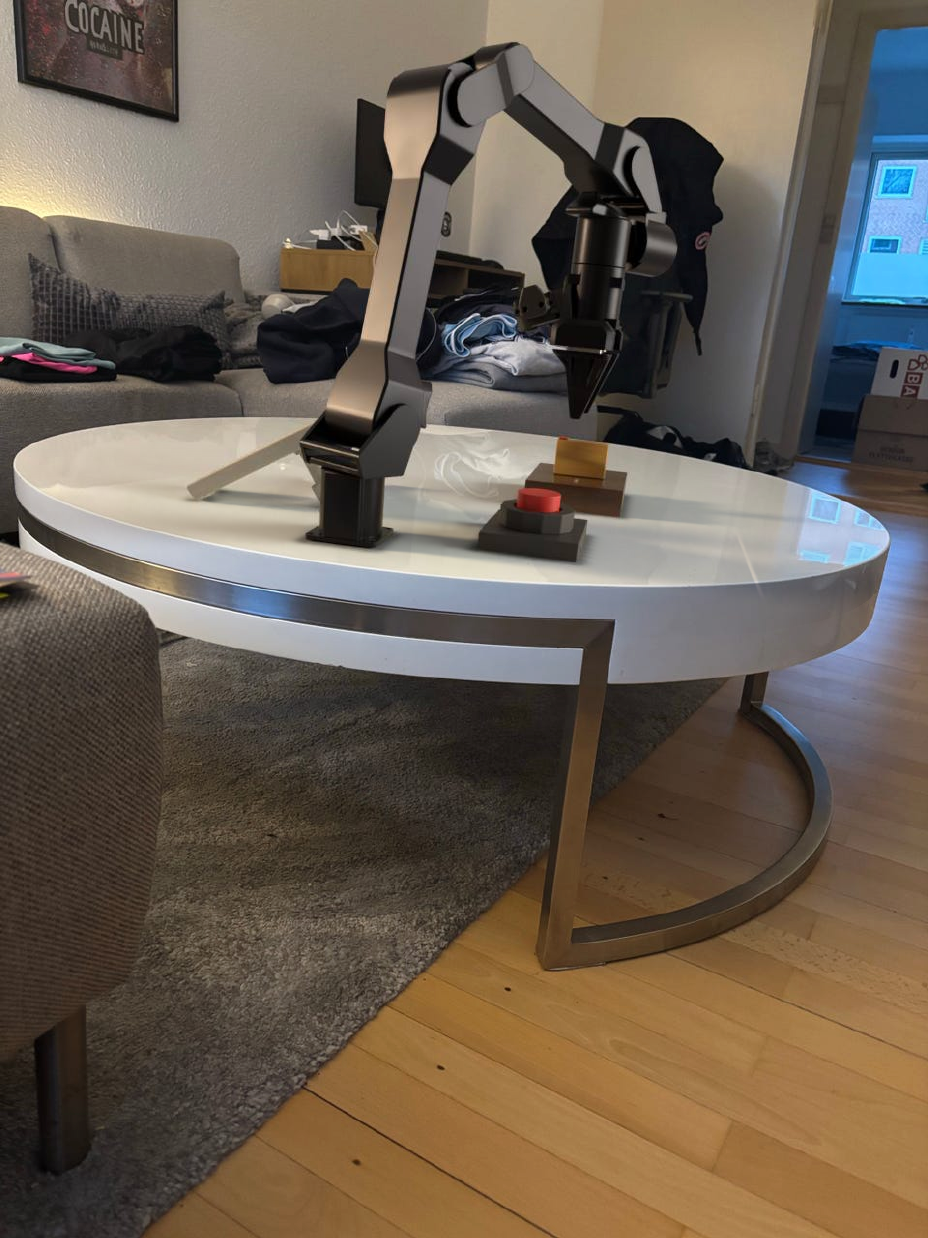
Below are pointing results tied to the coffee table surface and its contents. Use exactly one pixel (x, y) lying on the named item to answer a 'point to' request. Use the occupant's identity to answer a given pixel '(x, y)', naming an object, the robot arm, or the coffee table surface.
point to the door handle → (256, 465)
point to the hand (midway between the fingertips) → (579, 415)
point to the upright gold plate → (581, 458)
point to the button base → (534, 532)
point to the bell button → (538, 500)
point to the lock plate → (582, 490)
